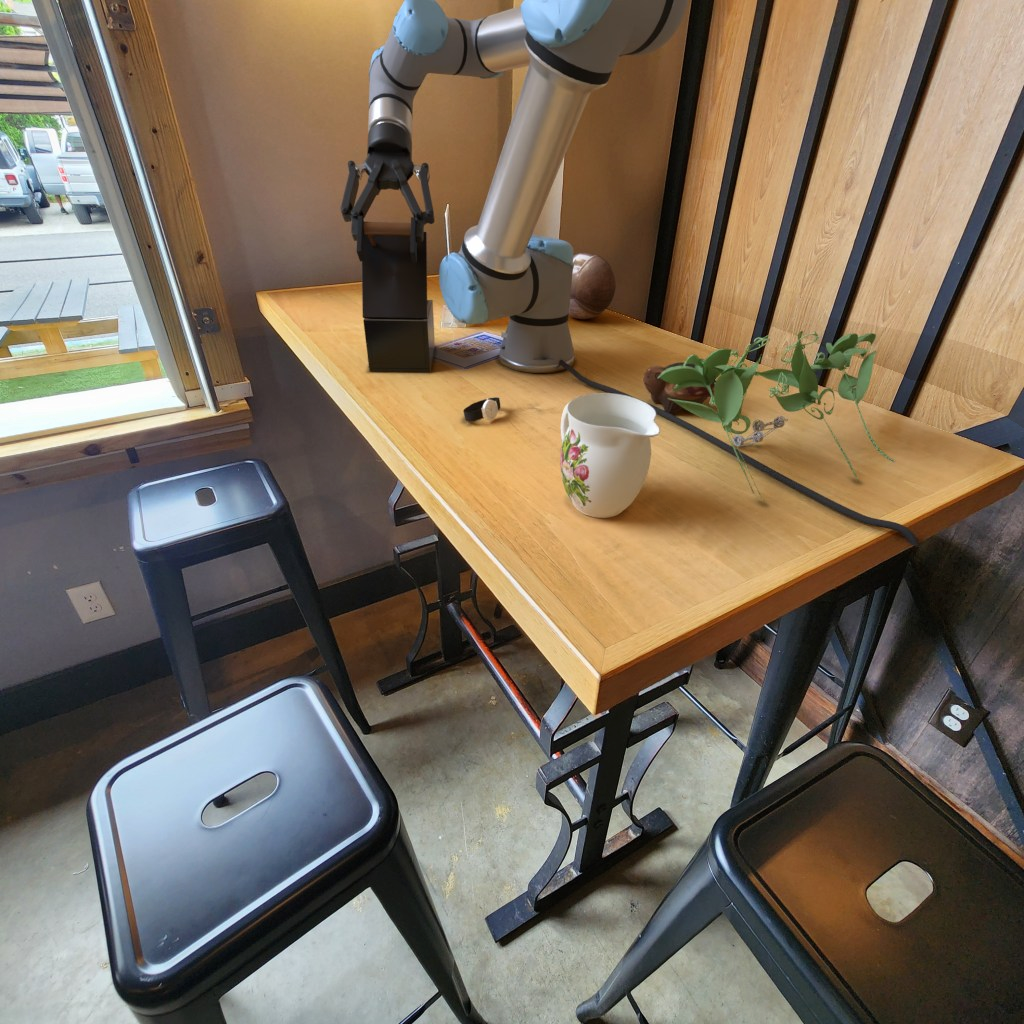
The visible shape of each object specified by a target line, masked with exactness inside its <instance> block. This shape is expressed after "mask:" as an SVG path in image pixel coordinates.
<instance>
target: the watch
mask: <svg viewBox="0 0 1024 1024" xmlns="http://www.w3.org/2000/svg"><path fill="white" fill-rule="evenodd" d="M500 409H501V400H500V397H496V396H495V397H489V398H488V397H487V398H485V399H481V400H479V401H476V402H473V403H472V404H470V405H468V406H466V407H465V408H464V409H463V411H462V412H463V415H464V420H465V422H471V423H472V422H476V421H480V420H482V419H483V420H484V419H486V420H487V421H491V420H494V419H495V418H496V417H497V415H498V412H499V410H500Z"/></svg>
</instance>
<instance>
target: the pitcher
mask: <svg viewBox="0 0 1024 1024" xmlns="http://www.w3.org/2000/svg"><path fill="white" fill-rule="evenodd" d="M630 396H631V395H630ZM630 396H626V395H620V394H613V393H609V392H594V393H593V392H592V393H588V394H581V395H579V396H577V397H575V398H572V399H571V401H569V402H568V403H566V405H565V406H564V407H563V410H562V412H561V413H562V414H561V418H560V439H561V448H560V457H559V466H560V476H561V481H562V484H563V487H564V490H565V493H566V495H567V497H568V499H569V501H570V502H571V503H572V504H573V506H574V508H575V509H576V510H577V511H578V512H580V513H581V514H583V515H585V516H588V517H592V518H598V519H607V518H613V517H616V516H618V515H619V514H621V513H623V511H625V510H626V509H627V508H629V507H630V506H631V505H632V503H633V502H634V501H635V499H636V498H637V497H638V496H639V494H640V491H642V488H643V486H644V484H645V481H646V479H647V477H648V474H649V470H650V466H651V458H652V444H651V443H652V442H651V438H654V437H656V436H659V434H660V433H661V430H660V427H659V425H658V424H657V422H656V421H655V420H656V418H657V413H656V411H655V409H654V408H653V407H651V406H650V405H648V404H647V403H648V402H646V401H644V400H642V401H641V399H640V400H639V398H637V397H635V398H633V397H634V396H633V397H630ZM636 398H637V399H636ZM643 401H644V402H643ZM645 402H646V403H645Z"/></svg>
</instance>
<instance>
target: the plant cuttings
mask: <svg viewBox="0 0 1024 1024" xmlns="http://www.w3.org/2000/svg"><path fill="white" fill-rule="evenodd" d="M803 333H804V331H803V330H800V331H799V332H798V334H797V341H796V342H794V343H793V345H792V344H789V346H788V347H786V348H785V349H784V350H785V352H784V353H782V354H781V356H780V361H781V362H782V364H785V365H789V364H790V366H791V367H790V368H791V370H790V369H786V368H773V369H768V370H764V371H759V370H757V369H758V367H759V364H760V362H761V359H762V357H761V356H762V355H759V357H758V359H757V360H756V362H754V363H753V364H752V365H750V366H749V367H748V365H747V363H746V362H745V361H746V358H747V356H748V355H749V353H750V352H753V351H756V350H759V349H760V348H762V347H764V346H766V345H767V344H768V343H769V342H770V341H771V339H770V338H769V336H770V334H768V335H766V336H764V337H756V338H755V339H754V340H753V343H752V344H751V343H747V346H746V347H745V352H744V353H743V354H742V356H741V357H740V358H739V353H738V352H739V350H735V349H729V348H719V349H716V350H714V351H712V352H711V353H710V354H708V355H707V357H706V358H705V359H704V358H700V357H699V356H698V355H697V354H691V355H689V356H688V357H687V358H686V359H685V361H684V362H685V363H684V365H683V366H675V367H671V368H668V369H666V370H665V371H663V372H662V373H661V374H660V375H659V376H658V378H661V379H662V380H664V381H666V382H668V383H671V384H675V385H676V386H675V387H674V389H673V392H675V391H677V390H680V389H683V388H686V387H690V386H699V387H707V389H708V391H709V393H710V395H711V397H710V400H709V405H706V404H703V403H702V404H700V403H696V402H690V401H683V400H676V399H670V398H668V399H669V400H672V401H674V402H675V403H677V404H678V405H679V406H681V408H682V409H684V410H685V411H688V412H689V413H691V414H693V415H695V416H697V417H699V418H702V419H704V420H706V421H710V422H715V423H719V424H721V428H722V429H723V430H724V431H725V432H726V435H727V437H728V440H729V442H730V444H731V446H732V447H733V449H734V451H735V454H736V456H737V457H736V456H735V457H736V459H737V460H738V463H739V465H740V467H741V470H742V472H743V474H744V476H745V478H746V481H747V482H748V485H749V487H750V489H751V492H752V494H753V495H754V494H755V491H754V490H753V489H754V488H753V487H752V485H751V483H750V480H749V478H748V476H747V472H746V471H745V468H744V466H743V463H744V465H745V466H746V469H747V471H748V473H749V475H750V478H751V480H752V482H753V484H754V486H755V488H756V490H757V492H758V494H759V496H760V498H761V499H762V501H764V499H763V496H762V495H761V492H760V491H759V489H758V486H757V484H756V483H755V480H754V479H753V476H752V474H751V473H750V471H749V468H748V466H747V465H746V464H747V463H746V462H745V461H744V460H742V461H743V463H742V461H741V459H740V458H739V456H738V454H737V452H736V449H737V450H739V452H740V451H741V450H740V449H739V448H741V447H746V446H750V445H753V444H755V443H760V442H763V441H764V438H765V437H766V436H768V435H769V434H771V433H772V432H774V431H775V430H776V429H781V428H783V427H784V426H785V423H786V422H788V421H789V419H788V418H785V417H784V416H783V415H777V416H776V417H774V419H773V421H768V422H766V423H765V422H764V421H762V420H761V419H755V420H754V421H753V422H752V421H751V419H750V417H748V416H746V415H742V409H743V404H744V400H745V399H744V398H746V396H747V392H748V389H749V387H750V385H751V383H752V381H753V378H754V376H755V377H758V376H760V377H762V378H765V379H767V380H770V381H773V382H777V384H776V387H770V388H769V389H768V391H769V398H771V399H772V398H775V399H776V400H777V402H778V404H779V405H780V406H781V407H782V409H783V410H784V411H785V412H789V413H794V412H795V413H796V412H798V411H801V410H804V411H805V412H806V413H808V414H809V415H810V416H811V417H813V418H814V419H817V420H819V421H820V420H823V421H824V423H825V424H826V426H827V428H828V429H829V431H830V433H831V435H832V437H833V438H834V441H835V442H836V444H837V446H838V448H839V450H840V451H841V453H842V455H843V457H844V459H845V461H846V462H847V464H848V466H849V468H850V470H851V472H852V473H853V475H854V477H855V479H856V481H857V482H858V483H859V478H858V475H857V473H856V472H855V470H854V468H853V465H852V464H851V462H850V460H849V458H848V457H847V454H846V453H845V451H844V449H843V448H842V446H841V444H840V443H839V440H838V439H837V438H836V436H835V434H834V432H833V431H832V429H831V427H830V426H829V423H828V422H827V421H826V418H825V415H824V413H825V414H826V415H829V416H830V415H831V414H832V413H833V411H834V409H835V408H834V407H835V403H833V404H832V407H831V408H830V410H829V411H826V408H825V406H827V403H826V402H823V411H824V413H823V411H822V410H820V409H819V407H818V406H820V405H822V398H823V396H824V395H825V394H826V393H829V392H830V393H832V396H833V400H835V392H834V389H832V388H831V387H830V388H824V389H823V390H822V391H821V392H820V393H818V392H819V381H818V377H817V375H816V373H815V372H816V371H820V370H832V369H835V370H838V371H840V372H841V371H842V372H843V375H842V376H841V378H840V381H839V384H838V386H837V392H838V395H839V397H840V398H842V399H844V400H848V401H851V402H854V403H855V404H856V407H857V410H858V413H859V416H860V419H861V422H862V425H863V427H864V430H865V432H866V434H867V437H868V438H869V439H868V440H870V442H871V444H872V445H873V447H874V448H875V449H876V451H877V452H878V453H879V454H880V455H881V456H883V457H884V458H885V459H887V460H888V461H890V462H891V463H896V460H894V459H892V458H891V457H890V456H888V455H887V454H886V453H885V452H884V451H883V450H882V449H881V448H880V447H879V446H878V445H877V443H876V442H875V440H874V439H873V436H872V435H871V433H870V431H869V429H868V426H867V425H866V422H865V420H864V417H863V415H862V413H861V410H860V406H859V403H860V402H861V401H862V400H863V398H864V397H865V395H866V393H867V391H868V389H869V386H870V383H871V378H872V374H873V369H874V368H873V367H874V360H875V356H876V353H877V350H873V348H868V349H866V348H860V347H859V346H860V345H858V344H859V343H863V342H869V343H870V346H873V343H874V342H875V340H876V337H877V335H876V333H872V332H870V333H864V334H862V335H860V336H859V335H858V334H857V333H847V334H845V335H843V336H841V337H840V338H838V339H837V340H836V342H834V344H832V343H831V342H828V341H826V343H825V348H826V350H827V352H828V354H829V356H828V357H826V354H825V352H822V351H820V352H817V353H816V356H817V357H816V358H815V359H814V361H813V364H812V365H810V363H809V360H808V358H807V355H806V352H805V351H806V350H805V349H806V346H808V345H811V344H813V343H815V342H817V341H818V340H819V339H820V337H821V336H820V335H819V334H818V333H817V332H816V331H813V333H808V334H805V335H803ZM802 335H803V336H802ZM808 336H814V337H815V338H814V339H813V340H812V341H810V342H808V343H802V340H803V339H804V338H806V337H808ZM759 343H761V344H759ZM757 344H758V347H756V348H753V347H754V346H756V345H757ZM752 348H753V349H752ZM792 349H794V351H793V353H792V356H791V358H789V357H785V358H784V359H783V357H784V355H785V354H786V353H788V352H789V351H790V350H792ZM872 350H873V351H872ZM869 351H871V352H870V353H869V354H868V355H866V354H867V353H868V352H869ZM855 354H857V355H860V356H861V358H863V360H862V362H861V364H860V367H859V369H858V374H857V377H855V376H853V375H850V374H848V373H847V371H845V370H846V369H848V368H850V367H851V366H850V365H851V360H852V357H853V356H854V355H855ZM732 356H733V357H734V358H735V360H734V359H730V358H731V357H732ZM820 356H822V357H820ZM864 357H865V358H864ZM729 361H730V362H732V363H731V364H728V363H729ZM736 361H737V362H736ZM735 362H736V363H735ZM686 364H695V369H694V368H692V367H689V366H685V365H686ZM734 364H735V365H734ZM714 380H716V383H714V384H715V386H714V396H713V394H712V391H711V388H710V385H711V384H712V383H713V382H714ZM780 384H781V385H780ZM790 386H791V387H794V388H796V389H798V392H796V393H791V394H789V393H790ZM779 388H781V390H780V389H779ZM788 394H789V395H788ZM781 395H782V396H781ZM816 403H817V406H816V407H817V408H816V407H811V408H810V411H811V412H812V413H815V411H817V412H818V413H819V415H820V417H818V416H816V415H814V414H812V413H811V412H809V411H808V410H807V409H806V408H807V407H809V406H811V405H813V404H816ZM711 406H712V407H714V408H716V410H717V411H716V410H715V409H713V408H712V407H711ZM739 420H742V421H743V422H744V423H745V429H744V430H741V431H740V430H737V429H736V430H735V429H734V428H732V427H733V422H734V423H736V424H737V426H739V424H740V423H739ZM751 424H752V429H753V432H752V433H750V434H749V435H747V436H746V438H744V436H743V435H742V434H745V433H746V432H747V431H748V430H749V429H750V427H751ZM772 425H773V427H771V428H766V427H768V426H772ZM763 431H766V432H765V433H763ZM729 433H730V434H729ZM733 434H734V436H733ZM730 435H731V436H730ZM731 437H732V438H731ZM750 440H751V441H752V442H751V443H748V444H747V443H746V444H744V443H745V442H747V441H750ZM740 454H741V453H740ZM741 456H742V455H741ZM742 459H743V457H742Z"/></svg>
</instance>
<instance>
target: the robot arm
mask: <svg viewBox="0 0 1024 1024" xmlns="http://www.w3.org/2000/svg"><path fill="white" fill-rule="evenodd" d="M688 5H689V0H523V1H522V3H521V4H520V5H519V6H515V7H513V8H509V9H506V10H503V11H500V12H496V13H494V14H490V15H488V16H485V17H481V18H478V19H473V20H469V19H468V20H467V19H461V18H455V17H450V16H447V15H446V13H445V11H444V9H443V8H442V7H441V5H440V4H439V3H438V1H436V0H404V1H403V3H402V5H401V6H400V8H399V10H398V12H397V13H396V14H395V17H394V19H393V23H392V26H391V28H390V31H389V34H388V37H387V39H386V42H385V45H382V46H381V47H379V48H378V49H376V50H374V52H373V54H372V56H371V59H370V67H369V69H368V82H369V88H368V89H369V91H368V121H367V153H366V158H365V160H364V161H363V163H362V162H361V163H356V162H355V161H354V160H349V161H348V162H347V168H348V176H347V180H346V184H345V187H344V192H343V195H342V199H341V200H342V201H341V204H340V209H339V210H340V212H341V216H342V218H343V221H344V222H345V223H349V222H350V224H351V225H350V226H351V228H350V234H351V236H352V239H353V241H354V242H356V254H357V257H358V260H359V262H361V263H362V262H365V234H364V230H363V222H365V220H364V219H365V218H366V215H367V214H368V212H369V210H370V208H371V206H372V205H373V203H374V201H375V199H376V197H377V196H379V194H380V192H381V191H383V190H384V191H386V190H394V191H400V193H401V195H402V197H403V198H404V200H405V201H406V205H407V207H408V208H409V211H410V213H411V217H410V223H411V245H410V253H411V258H412V262H417V242H423V240H424V232H425V225H427V224H429V225H432V224H434V223H435V213H434V212H435V211H434V206H433V200H432V196H431V190H430V185H429V182H430V177H431V175H430V167H429V164H428V163H427V162H423V163H422V164H421V165H419V164H418V165H417V164H415V163H414V162H413V118H414V116H413V113H414V112H413V109H414V108H413V107H414V99H415V97H416V95H417V93H418V91H419V89H420V87H421V86H422V84H423V83H424V81H425V79H426V77H427V75H428V74H434V75H447V76H448V75H449V76H461V77H463V76H464V77H473V78H480V79H482V80H483V79H484V80H487V79H498V78H500V77H502V76H503V75H504V74H505V72H506V71H511V70H515V69H521V68H525V67H528V68H527V71H526V75H525V77H524V81H523V83H522V87H521V90H520V92H519V96H518V99H517V103H516V106H515V108H514V112H513V115H512V118H511V120H510V124H509V127H508V131H507V133H506V136H505V140H504V143H503V146H502V149H501V152H500V155H499V158H498V160H497V161H498V162H497V164H496V168H495V171H494V174H493V177H492V180H491V183H490V186H489V189H488V193H487V196H486V199H485V202H484V205H483V208H482V212H481V214H480V217H479V220H478V224H477V225H473V226H471V227H469V229H467V230H466V232H465V233H464V237H463V240H462V243H461V246H460V249H459V251H458V252H451V253H449V254H447V255H445V256H444V257H443V259H442V260H441V262H440V264H439V270H438V281H439V288H440V292H441V294H442V298H443V301H444V303H445V305H446V307H447V309H448V311H449V312H450V313H451V315H452V316H453V317H454V318H455V319H456V320H457V321H459V322H460V323H462V324H465V325H477V324H482V325H483V324H485V323H488V322H491V321H496V320H500V319H505V318H509V319H508V323H507V327H506V330H505V332H503V331H501V333H500V337H501V338H502V341H501V344H500V348H499V362H500V363H501V364H503V366H505V367H507V368H510V369H512V370H514V371H519V372H524V373H532V374H551V373H556V372H557V373H558V372H561V371H565V370H567V371H568V372H569V373H570V374H572V375H573V376H574V377H575V378H576V379H577V380H578V381H580V382H582V383H584V384H585V385H588V386H590V387H592V388H594V389H597V390H600V391H603V392H605V393H613V394H620V395H626V396H630V397H633V398H636V399H639V398H638V397H635V396H633V395H630V394H628V393H626V392H623V391H621V390H618V389H616V388H614V387H611V386H607V385H605V384H602V383H599V382H597V381H593V380H591V379H589V378H587V377H586V376H584V375H582V374H581V373H580V372H578V371H577V369H575V368H574V367H572V366H573V365H574V363H575V349H574V345H573V339H572V336H571V332H570V331H571V330H570V327H569V326H570V325H569V306H570V295H571V285H572V274H573V268H574V264H573V256H574V247H573V246H572V244H571V243H570V242H569V241H567V240H563V239H559V238H554V237H548V236H543V235H542V236H541V235H534V234H533V233H534V231H535V228H536V226H537V224H538V221H539V219H540V217H541V214H542V211H543V210H544V207H545V204H546V202H547V201H548V197H549V195H550V192H551V190H552V188H553V185H554V183H555V180H556V177H557V175H558V173H559V171H560V168H561V165H562V163H563V161H564V158H565V155H566V153H567V151H568V149H569V147H570V143H571V141H572V139H573V137H574V133H575V131H576V129H577V127H578V124H579V122H580V119H581V117H582V114H583V112H584V109H585V107H586V106H587V103H588V100H589V97H590V95H591V93H593V92H594V91H598V90H599V89H601V88H604V87H606V86H607V84H608V83H609V81H610V77H611V75H612V73H613V70H614V69H615V66H616V64H617V62H618V60H619V57H624V56H625V57H626V56H644V55H649V54H652V53H653V52H656V51H658V50H659V49H661V48H662V47H664V45H666V44H667V43H668V42H669V41H670V40H671V39H672V37H673V36H674V35H675V34H676V32H677V31H678V29H679V28H680V26H681V24H682V22H683V19H684V17H685V15H686V12H687V8H688ZM365 173H366V174H367V176H368V177H367V182H366V184H365V186H364V187H363V189H362V191H361V193H360V195H359V197H358V199H357V195H358V191H359V186H360V181H362V178H363V175H364V174H365ZM414 175H415V176H416V179H417V181H418V182H420V188H421V193H422V198H423V204H424V209H425V211H423V210H422V209H421V207H420V205H419V203H418V201H417V199H416V197H415V195H414V192H413V190H412V188H411V186H410V184H409V182H408V181H410V179H411V178H412V177H413V176H414ZM356 199H357V201H356ZM639 400H641V399H639ZM641 401H643V402H645V403H647V404H648V405H650V406H651V407H653V408H654V409H655V411H656V415H659V416H661V417H663V418H665V419H667V420H669V421H671V422H673V423H675V424H677V425H678V426H680V427H682V428H684V429H686V430H688V431H690V432H691V433H694V434H696V435H697V436H699V437H701V438H703V439H705V440H706V441H708V442H710V443H711V444H713V445H715V446H717V447H719V448H721V449H722V450H724V451H726V452H727V453H729V454H730V455H733V456H734V457H736V458H737V456H736V454H735V451H734V449H733V447H732V445H730V444H728V443H726V442H725V441H723V440H721V439H719V438H717V437H715V436H713V435H712V434H710V433H709V432H706V431H705V430H703V429H701V428H699V427H697V426H695V425H693V424H692V423H689V422H688V421H685V420H684V419H682V418H679V417H678V416H676V415H674V414H673V413H672V414H670V413H668V412H666V411H665V409H664V410H663V409H662V408H660V407H657V406H655V405H653V404H651V403H649V402H646V401H644V400H641ZM735 449H736V452H737V454H738V456H739V458H740V461H741V460H742V461H743V460H744V461H743V462H745V464H748V465H750V466H752V467H754V468H755V469H756V470H759V471H761V472H763V473H764V474H766V475H768V476H770V477H771V478H773V479H775V480H777V481H779V482H780V483H782V484H784V485H786V486H787V487H789V488H791V489H793V490H795V491H797V492H799V493H800V494H803V495H805V496H807V497H808V498H811V499H812V500H814V501H817V502H818V503H820V504H822V505H824V506H826V507H828V508H830V509H831V510H833V511H835V512H837V513H839V514H841V515H844V516H846V517H848V518H850V519H852V520H855V521H857V522H859V523H862V524H864V525H868V526H872V527H876V528H882V529H886V530H891V531H894V532H897V533H899V534H900V535H902V536H903V537H904V539H906V541H907V542H908V543H909V544H910V545H911V546H913V547H917V548H919V547H920V546H921V544H920V543H921V542H920V540H919V539H918V538H917V535H916V534H915V533H914V532H913V531H912V530H911V529H910V528H908V527H907V526H906V525H903V524H901V523H898V522H895V521H891V520H886V519H880V518H876V517H871V516H867V515H865V514H862V513H860V512H857V511H855V510H854V509H851V508H849V507H846V506H844V505H842V504H840V503H838V502H837V501H835V500H832V499H831V498H829V497H827V496H825V495H822V494H820V493H819V492H817V491H815V490H812V489H811V488H809V487H807V486H805V485H803V484H802V483H799V482H798V481H795V480H794V479H791V478H790V477H788V476H787V475H784V474H783V473H781V472H778V470H775V469H773V468H772V467H770V466H768V465H766V464H763V463H762V462H760V461H758V460H757V459H755V458H753V457H751V456H749V455H747V453H744V452H742V451H741V450H740V449H739V450H738V448H735ZM739 451H740V452H739ZM740 453H741V454H740ZM741 455H742V456H741ZM742 457H743V459H742Z"/></svg>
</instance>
